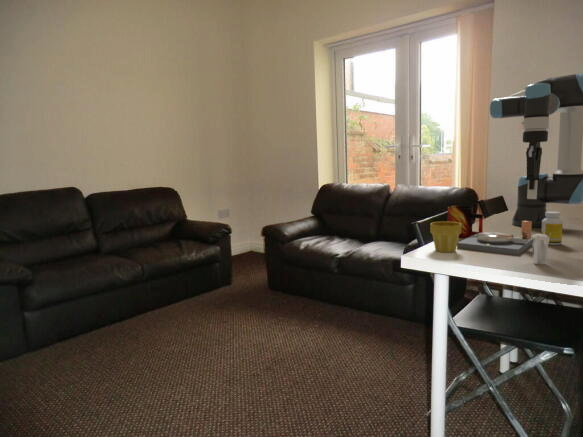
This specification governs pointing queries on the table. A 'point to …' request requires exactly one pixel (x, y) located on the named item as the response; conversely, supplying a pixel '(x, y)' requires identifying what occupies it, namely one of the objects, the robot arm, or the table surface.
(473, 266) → the table surface
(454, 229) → the plant pot
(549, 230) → the pill bottle
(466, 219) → the mug
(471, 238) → the base plate
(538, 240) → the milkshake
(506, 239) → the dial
